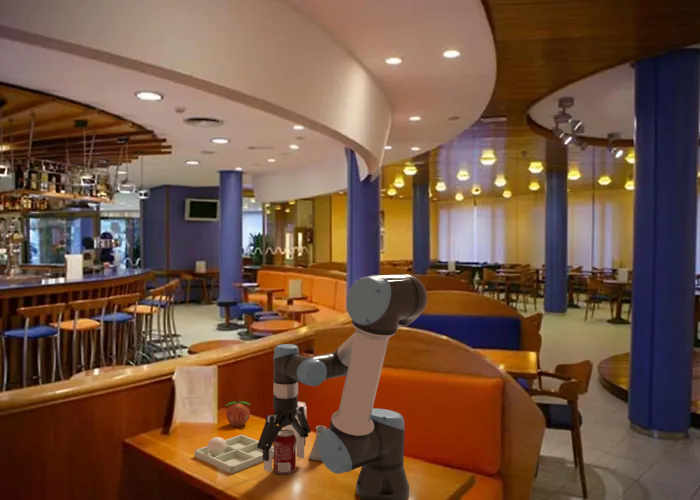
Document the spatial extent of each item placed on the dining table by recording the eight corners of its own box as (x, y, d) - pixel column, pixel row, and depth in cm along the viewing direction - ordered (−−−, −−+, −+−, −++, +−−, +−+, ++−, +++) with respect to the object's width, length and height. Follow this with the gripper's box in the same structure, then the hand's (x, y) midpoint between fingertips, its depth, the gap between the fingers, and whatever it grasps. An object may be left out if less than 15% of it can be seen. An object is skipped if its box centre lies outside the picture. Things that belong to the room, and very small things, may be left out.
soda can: (291, 476, 167) (292, 437, 166) (270, 474, 168) (270, 435, 168) (298, 467, 173) (298, 429, 173) (277, 465, 175) (278, 427, 174)
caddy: (279, 457, 180) (279, 448, 180) (231, 476, 166) (232, 467, 166) (241, 443, 193) (241, 434, 193) (194, 459, 178) (194, 450, 178)
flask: (304, 459, 180) (305, 428, 180) (316, 451, 187) (316, 422, 186) (324, 463, 177) (324, 432, 176) (335, 455, 183) (335, 426, 183)
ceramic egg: (230, 455, 179) (230, 437, 179) (214, 461, 175) (214, 442, 174) (218, 450, 183) (219, 432, 183) (203, 456, 178) (203, 437, 178)
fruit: (248, 429, 207) (249, 402, 206) (222, 429, 206) (223, 402, 206) (251, 421, 215) (252, 395, 215) (226, 421, 215) (227, 395, 215)
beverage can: (280, 435, 201) (281, 402, 201) (301, 432, 205) (302, 399, 204) (287, 442, 194) (288, 408, 194) (309, 439, 197) (310, 406, 197)
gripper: (305, 385, 182) (304, 448, 183) (245, 401, 163) (244, 472, 164) (322, 389, 177) (321, 454, 178) (262, 407, 158) (261, 480, 159)
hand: (284, 463), depth 171 cm, fingers open, 13 cm apart
